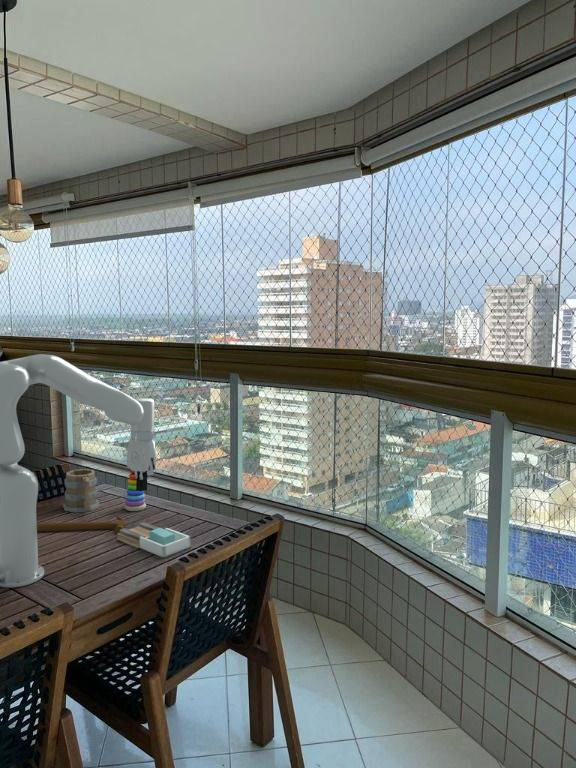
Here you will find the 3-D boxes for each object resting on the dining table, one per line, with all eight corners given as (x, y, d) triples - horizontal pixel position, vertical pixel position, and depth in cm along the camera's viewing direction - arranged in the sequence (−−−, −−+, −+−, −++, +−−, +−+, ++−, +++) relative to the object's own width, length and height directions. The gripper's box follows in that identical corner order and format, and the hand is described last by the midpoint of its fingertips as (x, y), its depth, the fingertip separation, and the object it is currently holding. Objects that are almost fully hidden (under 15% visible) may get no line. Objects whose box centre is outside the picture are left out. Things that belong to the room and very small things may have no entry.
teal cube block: (157, 546, 177) (157, 534, 176) (150, 542, 179) (149, 531, 179) (167, 542, 180) (167, 530, 179) (159, 539, 182) (159, 527, 182)
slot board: (137, 547, 176) (137, 538, 176) (117, 539, 183) (116, 530, 183) (167, 537, 186) (166, 528, 185) (146, 529, 192) (146, 521, 192)
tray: (163, 557, 169) (163, 546, 169) (139, 547, 176) (139, 537, 176) (190, 546, 177) (190, 536, 177) (166, 537, 185) (166, 527, 185)
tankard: (62, 504, 218) (61, 467, 216) (95, 500, 224) (94, 464, 222) (68, 520, 200) (67, 480, 199) (104, 515, 206) (103, 476, 205)
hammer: (31, 536, 185) (123, 534, 188) (31, 527, 185) (123, 526, 188) (43, 524, 197) (129, 523, 200) (43, 516, 196) (129, 514, 200)
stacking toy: (142, 512, 210) (142, 464, 208) (122, 511, 210) (121, 463, 208) (148, 505, 218) (147, 459, 216) (128, 505, 218) (127, 458, 216)
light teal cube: (165, 549, 174) (164, 537, 173) (157, 546, 176) (156, 534, 176) (174, 545, 177) (174, 533, 177) (166, 542, 179) (166, 530, 179)
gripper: (119, 433, 182) (118, 488, 183) (147, 440, 173) (146, 497, 174) (137, 431, 188) (137, 484, 189) (166, 437, 178) (165, 492, 180)
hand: (141, 490), depth 181 cm, fingers closed
